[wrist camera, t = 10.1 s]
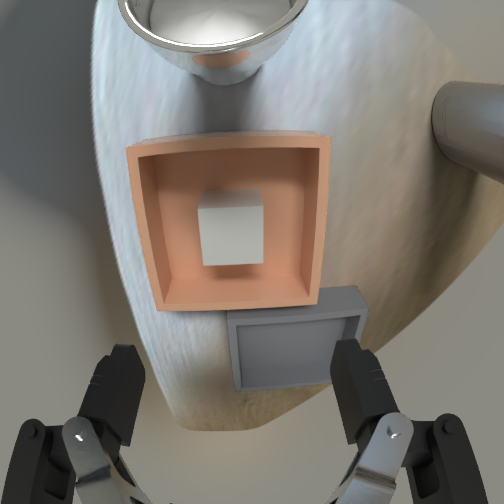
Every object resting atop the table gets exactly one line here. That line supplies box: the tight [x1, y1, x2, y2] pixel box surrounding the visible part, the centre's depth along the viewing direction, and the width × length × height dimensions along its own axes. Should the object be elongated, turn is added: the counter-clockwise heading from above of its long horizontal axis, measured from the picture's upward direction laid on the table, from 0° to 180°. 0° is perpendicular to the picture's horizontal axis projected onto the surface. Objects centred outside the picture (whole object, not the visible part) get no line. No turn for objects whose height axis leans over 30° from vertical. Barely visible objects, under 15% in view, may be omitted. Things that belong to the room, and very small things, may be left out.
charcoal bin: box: [227, 286, 369, 392], centre depth 31 cm, size 14×12×4 cm
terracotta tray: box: [126, 130, 331, 311], centre depth 23 cm, size 14×14×5 cm
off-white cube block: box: [198, 188, 263, 266], centre depth 23 cm, size 4×4×4 cm
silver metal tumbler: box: [118, 0, 309, 85], centre depth 12 cm, size 7×7×15 cm
